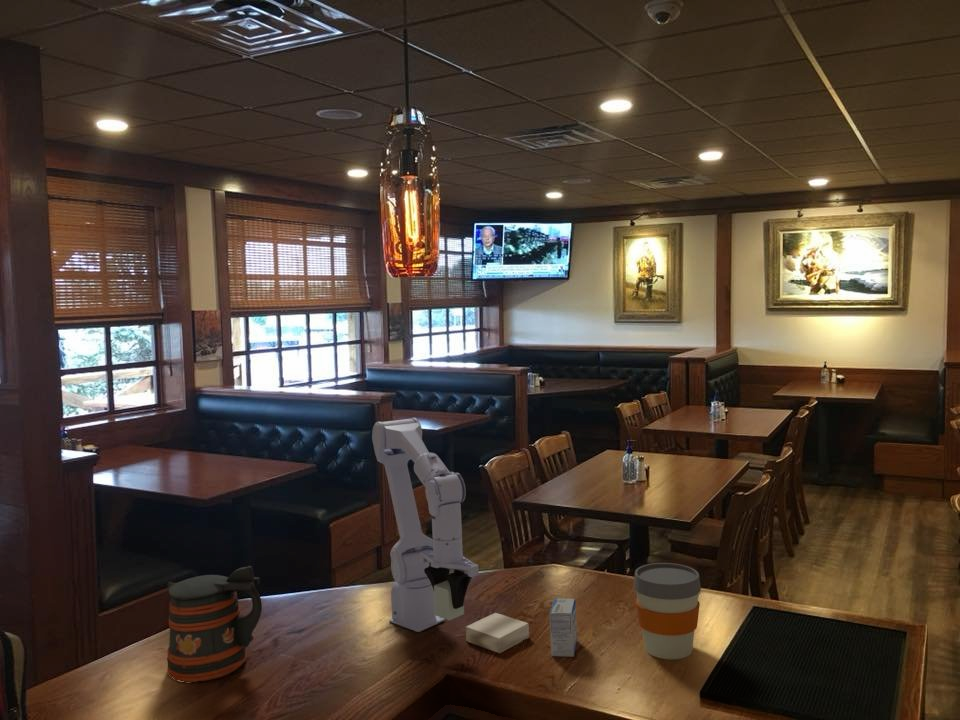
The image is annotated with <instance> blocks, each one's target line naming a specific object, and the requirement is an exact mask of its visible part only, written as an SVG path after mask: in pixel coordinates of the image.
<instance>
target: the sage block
mask: <svg viewBox="0 0 960 720" xmlns="http://www.w3.org/2000/svg"><path fill="white" fill-rule="evenodd" d="M434 596H435V615H436V616H439V617H441V618H444V619H445V620H447V621H452V620H454V619H455V618H456V619H457V618H458V617H460V616H463V615H465V604H463V606H462V607H460V608H458V609H454V608H453V604H452V595H451V589H450V585H449V582H448V580H447V581H444V582H442V583H439V584H437V585H434Z"/></svg>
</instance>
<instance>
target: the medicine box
mask: <svg viewBox="0 0 960 720" xmlns="http://www.w3.org/2000/svg"><path fill="white" fill-rule="evenodd" d="M576 602H577V601H576V598H564V597H563V598H559V597H558V598H554V600H553V603H552V606H551V609H550V612H549V631H550V632H549V634H550V638H549V639H550V651H551V652H550V653H551V656H552V657H565V658H566V657H567V658H574V656H575V652H576V647H577V643H578V630H577V629H578V626H577V625H578V624H577V603H576Z"/></svg>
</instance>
